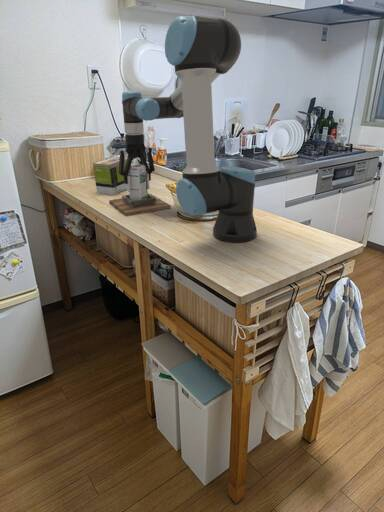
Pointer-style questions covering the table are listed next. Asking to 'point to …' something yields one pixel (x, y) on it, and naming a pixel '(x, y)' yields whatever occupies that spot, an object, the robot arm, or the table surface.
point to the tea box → (109, 176)
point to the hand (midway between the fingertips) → (138, 189)
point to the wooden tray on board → (138, 205)
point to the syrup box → (138, 182)
